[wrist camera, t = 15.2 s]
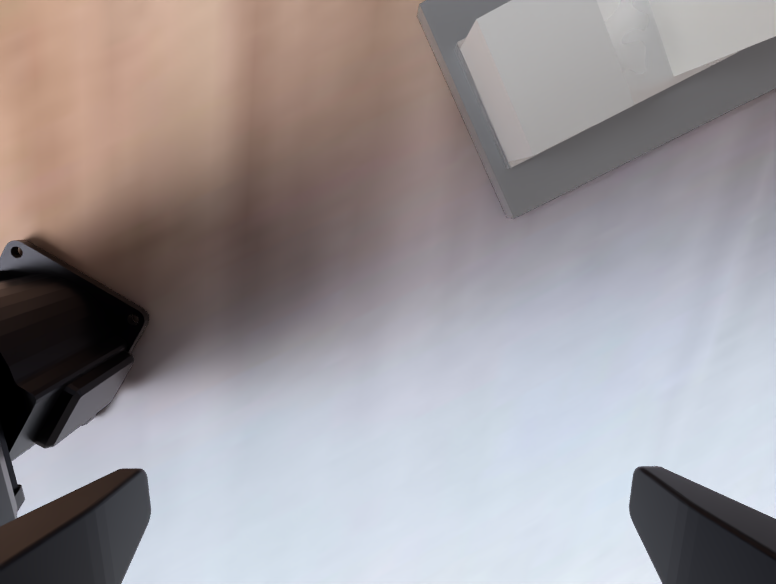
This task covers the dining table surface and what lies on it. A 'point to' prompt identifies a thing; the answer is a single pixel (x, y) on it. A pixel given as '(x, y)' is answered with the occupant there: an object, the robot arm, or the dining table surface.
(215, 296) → the dining table surface
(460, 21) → the rail board
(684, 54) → the block
